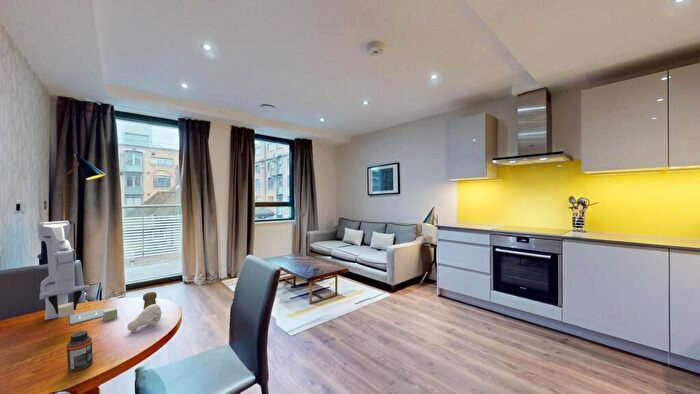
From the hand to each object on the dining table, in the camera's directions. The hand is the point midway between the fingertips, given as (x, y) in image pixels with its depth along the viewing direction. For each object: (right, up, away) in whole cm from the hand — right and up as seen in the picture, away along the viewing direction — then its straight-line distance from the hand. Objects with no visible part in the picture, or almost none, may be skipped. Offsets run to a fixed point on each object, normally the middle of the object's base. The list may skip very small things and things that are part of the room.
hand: (66, 311), depth 117 cm
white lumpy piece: (+33, -7, +1) cm, 33 cm away
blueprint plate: (-2, -7, +12) cm, 14 cm away
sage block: (+10, -7, +10) cm, 16 cm away
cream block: (0, -2, 0) cm, 2 cm away
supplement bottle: (+31, -8, -26) cm, 41 cm away
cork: (+28, -7, +11) cm, 31 cm away
